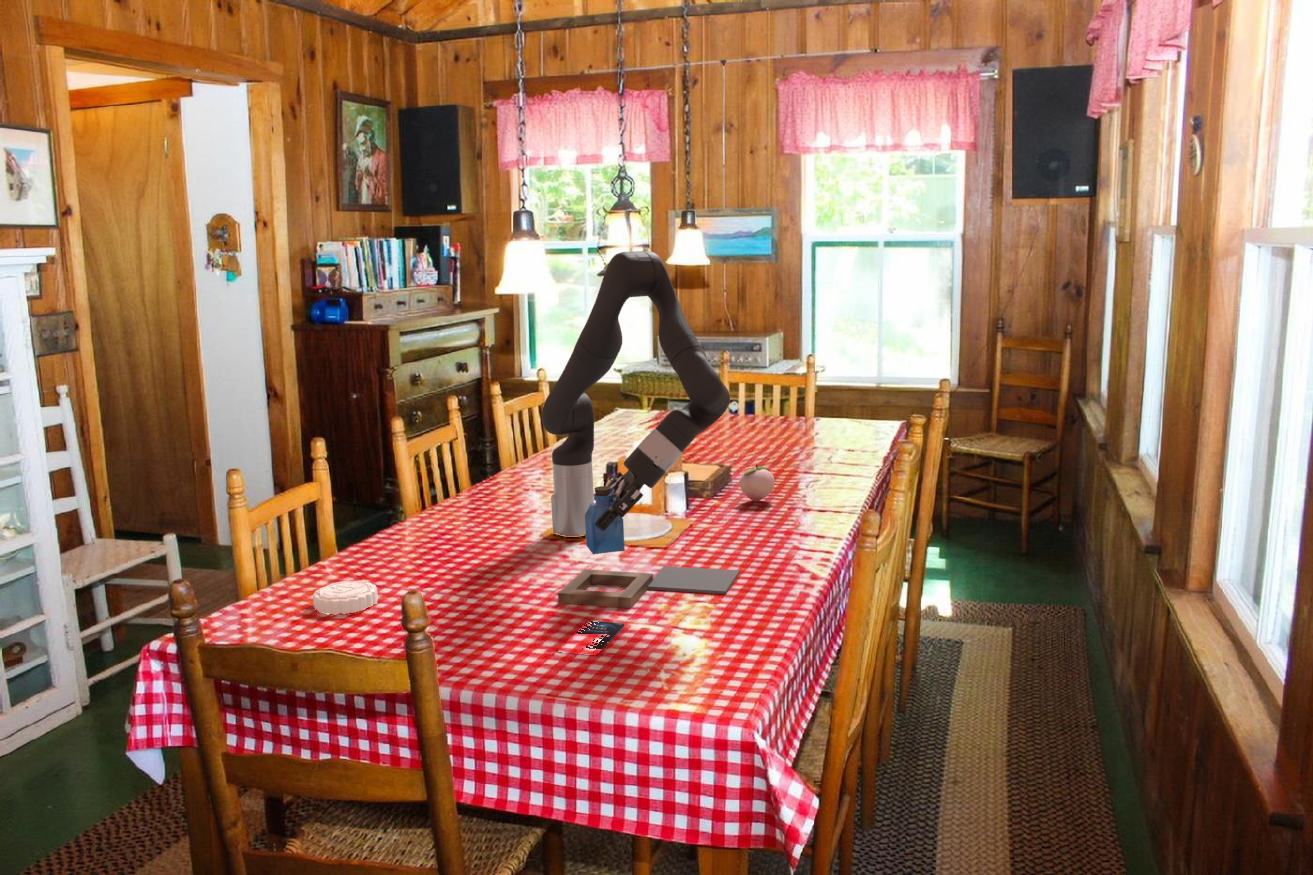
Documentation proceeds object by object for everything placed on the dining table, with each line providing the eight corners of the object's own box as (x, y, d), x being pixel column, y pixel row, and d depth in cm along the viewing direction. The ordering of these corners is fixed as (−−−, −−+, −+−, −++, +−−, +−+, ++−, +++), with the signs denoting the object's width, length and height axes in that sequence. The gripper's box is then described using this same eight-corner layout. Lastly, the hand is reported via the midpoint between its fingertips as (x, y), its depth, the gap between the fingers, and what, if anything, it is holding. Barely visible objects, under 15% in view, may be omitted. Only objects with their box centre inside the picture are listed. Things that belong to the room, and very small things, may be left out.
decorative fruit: (762, 508, 268) (761, 469, 266) (735, 504, 273) (734, 466, 271) (781, 500, 275) (781, 462, 273) (754, 496, 280) (754, 459, 278)
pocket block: (558, 602, 204) (557, 593, 204) (584, 578, 218) (584, 569, 217) (631, 608, 200) (630, 597, 200) (653, 583, 214) (652, 573, 213)
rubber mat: (646, 589, 210) (646, 586, 210) (664, 568, 222) (664, 566, 222) (725, 594, 206) (725, 591, 206) (739, 573, 218) (739, 570, 218)
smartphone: (554, 651, 180) (586, 620, 194) (554, 654, 180) (587, 623, 194) (596, 655, 178) (626, 623, 192) (596, 658, 178) (626, 626, 192)
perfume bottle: (593, 554, 204) (590, 493, 201) (586, 545, 210) (583, 486, 207) (624, 550, 205) (621, 490, 203) (617, 541, 211) (614, 483, 209)
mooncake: (354, 591, 216) (353, 574, 215) (390, 603, 208) (389, 585, 207) (301, 608, 207) (300, 591, 206) (337, 621, 199) (335, 603, 198)
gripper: (630, 439, 212) (575, 502, 212) (647, 453, 198) (588, 520, 198) (657, 462, 214) (602, 525, 214) (676, 478, 201) (617, 545, 200)
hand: (595, 522), depth 206 cm, fingers closed on perfume bottle, 6 cm apart
